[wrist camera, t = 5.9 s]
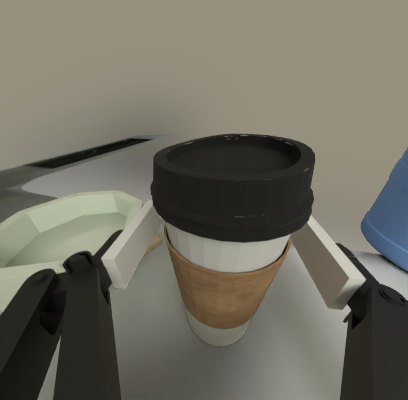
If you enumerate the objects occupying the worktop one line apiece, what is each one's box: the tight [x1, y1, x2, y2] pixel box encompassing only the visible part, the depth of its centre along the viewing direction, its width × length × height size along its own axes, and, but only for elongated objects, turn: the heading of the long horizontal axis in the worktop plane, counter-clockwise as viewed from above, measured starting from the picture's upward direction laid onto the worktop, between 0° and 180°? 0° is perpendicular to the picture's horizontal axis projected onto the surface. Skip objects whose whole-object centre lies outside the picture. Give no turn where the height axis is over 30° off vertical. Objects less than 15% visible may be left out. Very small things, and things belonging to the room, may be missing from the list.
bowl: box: [0, 190, 162, 312], centre depth 20 cm, size 15×15×5 cm
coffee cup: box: [151, 134, 315, 346], centre depth 12 cm, size 8×8×15 cm
